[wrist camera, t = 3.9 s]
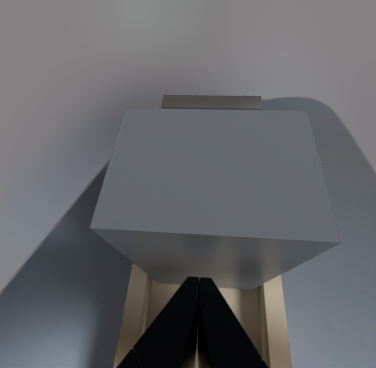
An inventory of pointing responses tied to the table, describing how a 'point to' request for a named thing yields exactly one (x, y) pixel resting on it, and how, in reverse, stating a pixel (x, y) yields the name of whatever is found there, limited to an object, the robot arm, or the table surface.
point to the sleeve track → (236, 298)
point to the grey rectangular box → (215, 195)
